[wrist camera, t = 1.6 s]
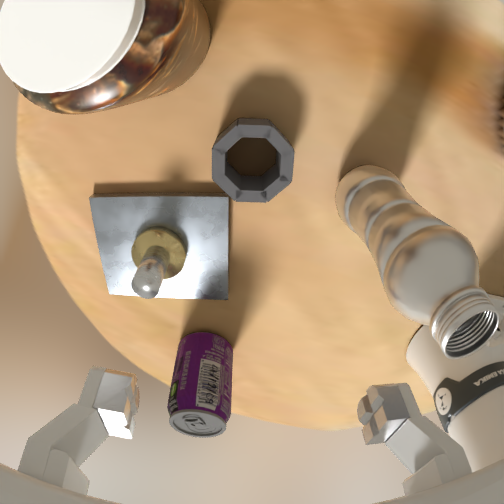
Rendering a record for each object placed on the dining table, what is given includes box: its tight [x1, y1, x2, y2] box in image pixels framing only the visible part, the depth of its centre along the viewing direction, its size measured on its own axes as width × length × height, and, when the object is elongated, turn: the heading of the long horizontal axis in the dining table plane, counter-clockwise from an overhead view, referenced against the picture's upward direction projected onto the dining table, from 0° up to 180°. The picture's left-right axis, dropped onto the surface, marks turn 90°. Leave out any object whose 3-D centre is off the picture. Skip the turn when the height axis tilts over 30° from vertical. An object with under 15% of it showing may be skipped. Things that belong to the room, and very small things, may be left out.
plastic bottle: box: [335, 165, 500, 359], centre depth 22 cm, size 6×7×20 cm
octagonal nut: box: [212, 118, 294, 203], centre depth 27 cm, size 6×6×4 cm
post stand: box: [89, 193, 229, 300], centre depth 30 cm, size 14×12×7 cm
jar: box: [0, 0, 211, 114], centre depth 16 cm, size 12×12×15 cm
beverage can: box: [167, 332, 233, 437], centre depth 36 cm, size 7×7×12 cm
